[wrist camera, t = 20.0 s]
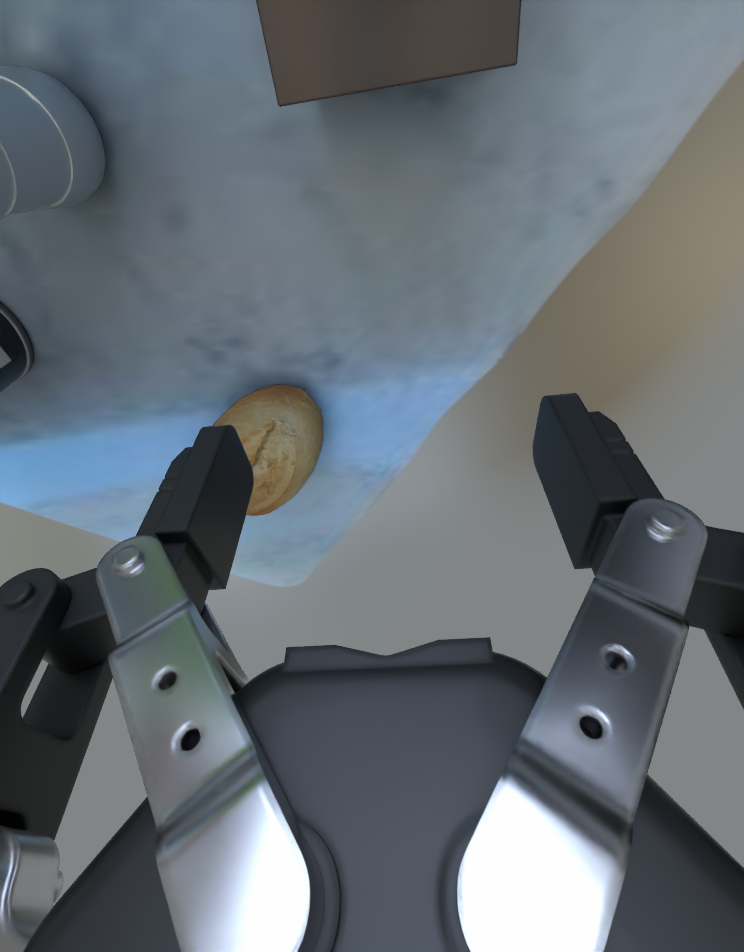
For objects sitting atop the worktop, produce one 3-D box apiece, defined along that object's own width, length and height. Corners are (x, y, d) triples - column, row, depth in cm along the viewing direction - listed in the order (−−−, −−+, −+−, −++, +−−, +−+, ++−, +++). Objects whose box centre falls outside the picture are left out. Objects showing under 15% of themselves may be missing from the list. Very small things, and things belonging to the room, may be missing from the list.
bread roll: (196, 459, 46) (165, 516, 40) (250, 349, 37) (220, 402, 31) (279, 497, 49) (262, 555, 43) (348, 405, 40) (337, 462, 34)
